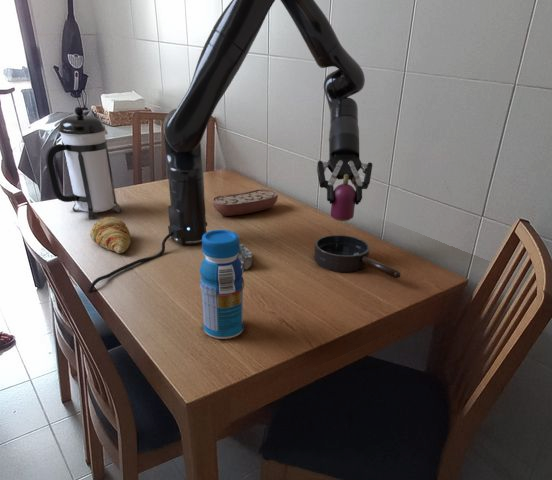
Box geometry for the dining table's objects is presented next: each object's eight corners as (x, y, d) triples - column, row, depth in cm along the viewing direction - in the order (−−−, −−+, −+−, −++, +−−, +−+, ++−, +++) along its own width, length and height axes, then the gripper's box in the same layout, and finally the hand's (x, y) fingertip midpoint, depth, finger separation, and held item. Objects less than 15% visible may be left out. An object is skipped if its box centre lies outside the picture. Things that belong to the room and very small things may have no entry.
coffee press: (79, 202, 158) (58, 101, 141) (127, 204, 158) (112, 104, 141) (58, 221, 144) (32, 111, 127) (110, 223, 144) (92, 113, 127)
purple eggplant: (342, 223, 118) (347, 178, 112) (325, 217, 122) (329, 173, 116) (357, 218, 122) (363, 175, 115) (341, 212, 125) (345, 169, 119)
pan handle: (401, 278, 115) (402, 271, 114) (396, 280, 114) (397, 273, 113) (364, 261, 122) (365, 254, 121) (359, 263, 121) (360, 256, 120)
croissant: (135, 266, 128) (146, 238, 126) (99, 256, 121) (109, 227, 119) (112, 237, 142) (121, 212, 140) (78, 227, 136) (87, 201, 133)
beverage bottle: (195, 335, 96) (188, 240, 84) (214, 315, 102) (210, 224, 91) (233, 344, 93) (231, 248, 82) (251, 323, 100) (251, 231, 88)
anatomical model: (267, 202, 165) (267, 187, 162) (284, 210, 159) (284, 195, 156) (208, 213, 154) (207, 197, 151) (223, 222, 148) (223, 206, 145)
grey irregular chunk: (253, 269, 121) (253, 254, 119) (223, 272, 119) (223, 256, 117) (245, 252, 129) (245, 238, 127) (217, 254, 128) (217, 240, 125)
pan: (341, 277, 119) (343, 261, 116) (302, 258, 128) (303, 242, 125) (378, 263, 127) (381, 247, 124) (339, 246, 135) (341, 231, 133)
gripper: (317, 130, 117) (317, 194, 114) (375, 132, 117) (377, 196, 114) (314, 148, 124) (314, 208, 121) (369, 150, 125) (370, 210, 122)
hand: (344, 202), depth 118 cm, fingers closed on purple eggplant, 6 cm apart
